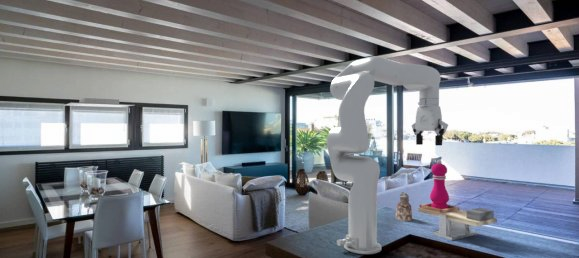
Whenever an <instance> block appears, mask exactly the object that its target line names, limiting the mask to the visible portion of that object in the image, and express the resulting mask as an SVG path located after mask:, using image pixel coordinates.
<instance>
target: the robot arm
mask: <svg viewBox="0 0 579 258" xmlns="http://www.w3.org/2000/svg"><path fill="white" fill-rule="evenodd" d="M375 82H379V83H382V84H387V85H391V86H403V88H404V89H406V90H408V91H419V93H418V94H419V96H418V97H419V101H418V102H417V104H418V107H417V109H416V114H415V122H414V123H413V124H411V128H412V131H413V133H414V135H415V137H416V138H415V139H416V141H415V144H416V146H417V145H419V146H420V145H421V146H422V145H423V144H424V143H423V142H424V140H423V139H424V136H423V135H422V134H423V133H424V132H425V131H426V132H427V131H428V132H434V133H435V134H436V135H434V136H435V137H434V138H435V140H434V143H435V146H443V136H444V135H445V133H446V132H447V129H448V127H449V124H448V123H446V122H444V121H443V117H442V116H443V114H442V110H441V106H440V83H441V73H440V72H439V71H438V70H437V68H434V67H433V66H429V65H425V64H424V65H423V64H418V63H416V64H415V63H406V62H398V61H394V60H391V59H388V58H385V57H382V56H378V55H377V56H375V55H373V56H367V57H364V58H359V59H356V60H354V61H352V62H351V63H350V64H348V65H347V66H346V67H345V68H344V69H343V70H342V71H341V72H339V73H338V74H337V75H336V76H335V77H334V78H333V80H332V81H331V83H330V87H329V91H330V94H331V96H332V97H333V98H334V99H336V100H339V101H341V103H340V104H339V108H338V118H339V119H338V120H339V125H338V126H334V127H332V128H331V129H330V130H329V132H328V133H327V135H326V136H327V137H326V146H327V147H326V148H327V152H328V156H329V161H330V165H331V168H332V173H333V175H334V177H336V178H337V180H340V181H344V182H349V183H352V186H351V188H350V190H349V192H348V201H347V203H348V205H347V206H348V207H347V208H348V217H347V218H348V222H347V223H348V224H347V225H348V227H347V228H348V229H347V230H348V231H347V234H345V237H344V238H343V239H342V238H340V239H337V240H336V244H337V246H338V247H340V246H343V247H344V249H345V250H347V251H348V252H351V253H354V254H359V255H374V254H378V253H380V252H381V251H382V245H381V244H380V243H379V242H377V239H378V236H377V235H378V227H377V226H378V225H377V221H378V220H377V218H378V216H377V215H378V214H377V213H378V211H377V210H378V209H377V203H378V201H377V197H378V196H377V194H378V184H379V179H380V173H381V172H380V171H381V168H380V165H379V163H378V162H377V160H376V159H374V158H372V157H370V156H366V155H357V154H363V153H366V152H367V151H368V150H369V148H370V136H369V131H368V126H367V121H366V116H365V115H366V114H365V109H366V108H365V106H366V103H367V101H368V100H369V97H370V96H371V94H372V93H373V91H374V87H375ZM353 154H356V155H353Z"/></svg>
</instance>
